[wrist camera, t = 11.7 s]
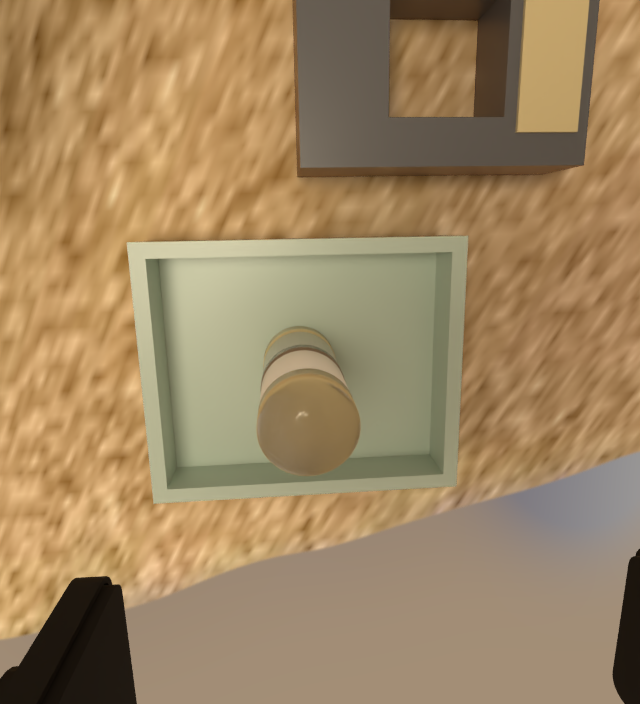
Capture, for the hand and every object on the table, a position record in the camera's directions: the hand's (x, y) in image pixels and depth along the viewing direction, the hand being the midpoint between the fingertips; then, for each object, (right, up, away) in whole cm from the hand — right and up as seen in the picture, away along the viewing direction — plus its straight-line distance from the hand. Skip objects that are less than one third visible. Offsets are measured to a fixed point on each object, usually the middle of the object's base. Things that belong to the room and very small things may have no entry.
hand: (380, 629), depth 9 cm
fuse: (-2, +5, +20) cm, 21 cm away
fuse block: (+5, +20, +18) cm, 27 cm away
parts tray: (-2, +5, +21) cm, 22 cm away
